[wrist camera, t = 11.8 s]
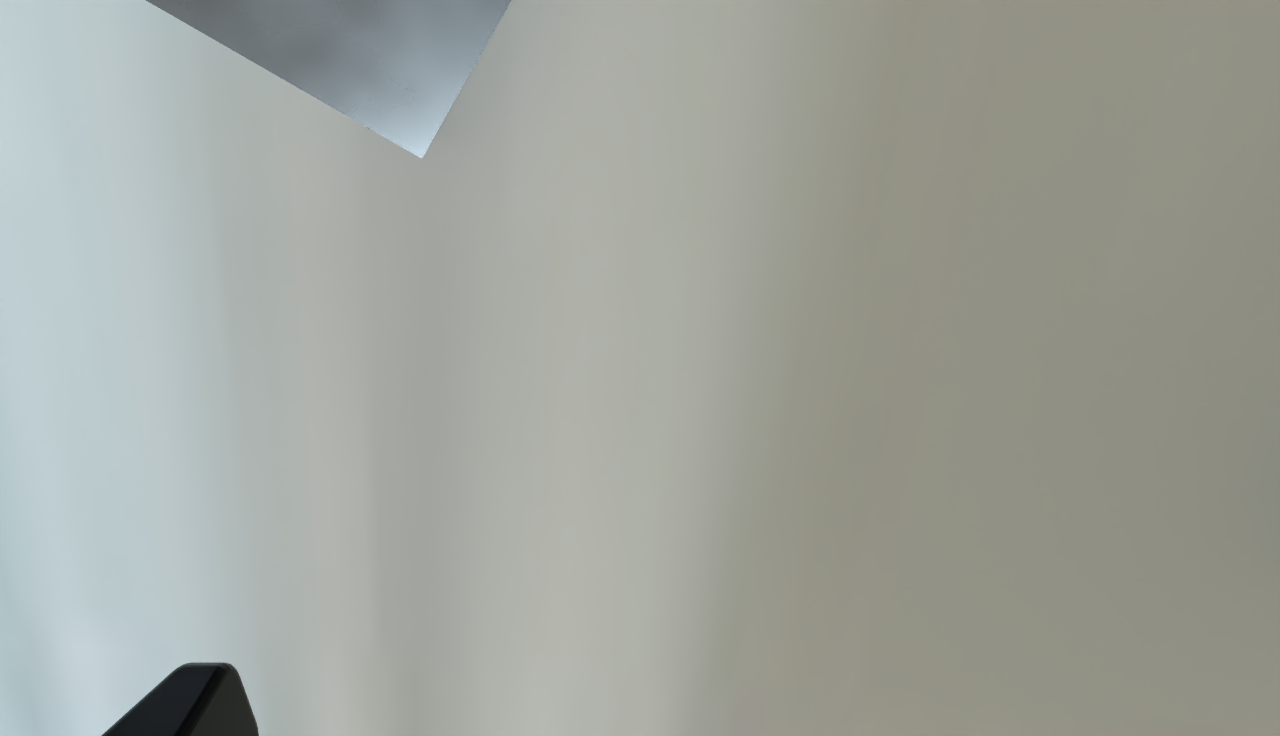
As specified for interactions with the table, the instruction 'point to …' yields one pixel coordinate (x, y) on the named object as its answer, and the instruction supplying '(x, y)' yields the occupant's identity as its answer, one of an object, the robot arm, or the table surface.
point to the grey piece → (359, 52)
